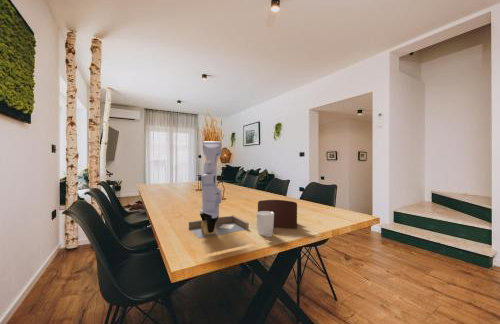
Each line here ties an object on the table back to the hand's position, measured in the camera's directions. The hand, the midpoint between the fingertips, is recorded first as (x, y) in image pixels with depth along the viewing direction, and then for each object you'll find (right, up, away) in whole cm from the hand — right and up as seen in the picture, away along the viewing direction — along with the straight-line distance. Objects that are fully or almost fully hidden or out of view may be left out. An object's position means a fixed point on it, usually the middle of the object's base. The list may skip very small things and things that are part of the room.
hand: (208, 230), depth 97 cm
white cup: (+26, -2, 0) cm, 26 cm away
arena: (+4, -2, +6) cm, 7 cm away
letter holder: (+33, -3, +16) cm, 37 cm away
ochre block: (0, -1, 0) cm, 1 cm away
